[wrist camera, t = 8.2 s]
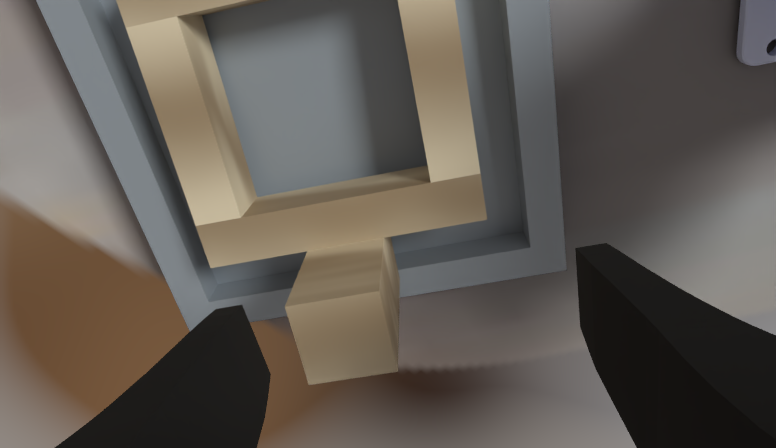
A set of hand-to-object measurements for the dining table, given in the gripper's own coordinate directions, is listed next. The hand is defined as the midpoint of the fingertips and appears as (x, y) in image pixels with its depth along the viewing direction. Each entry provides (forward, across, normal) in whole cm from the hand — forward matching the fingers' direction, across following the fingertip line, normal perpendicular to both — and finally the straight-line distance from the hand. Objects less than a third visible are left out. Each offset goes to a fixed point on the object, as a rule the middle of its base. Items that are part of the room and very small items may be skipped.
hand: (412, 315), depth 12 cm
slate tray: (+9, +2, -3) cm, 10 cm away
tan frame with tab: (+8, +2, -2) cm, 8 cm away
